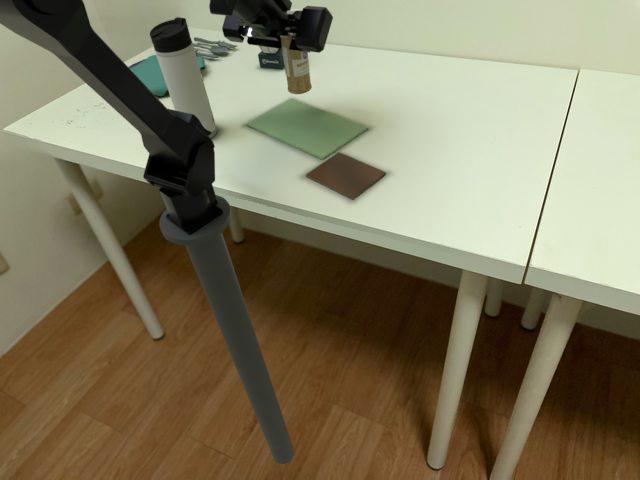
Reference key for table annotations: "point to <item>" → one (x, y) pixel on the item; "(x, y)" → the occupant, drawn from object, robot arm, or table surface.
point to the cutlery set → (153, 74)
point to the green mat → (307, 128)
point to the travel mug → (182, 71)
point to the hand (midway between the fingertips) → (298, 48)
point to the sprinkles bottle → (295, 66)
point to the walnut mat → (346, 175)
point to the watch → (271, 58)
